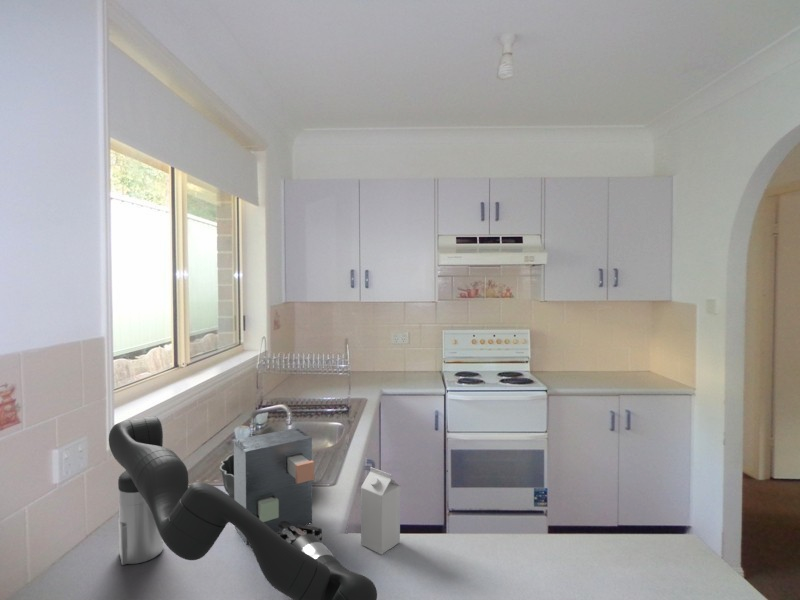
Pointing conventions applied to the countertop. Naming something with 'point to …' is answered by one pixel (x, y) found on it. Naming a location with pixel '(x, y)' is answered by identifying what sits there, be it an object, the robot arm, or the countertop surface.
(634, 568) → the countertop surface
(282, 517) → the control panel
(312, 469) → the terracotta button
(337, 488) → the countertop surface
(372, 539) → the milk carton
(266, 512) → the sage button
